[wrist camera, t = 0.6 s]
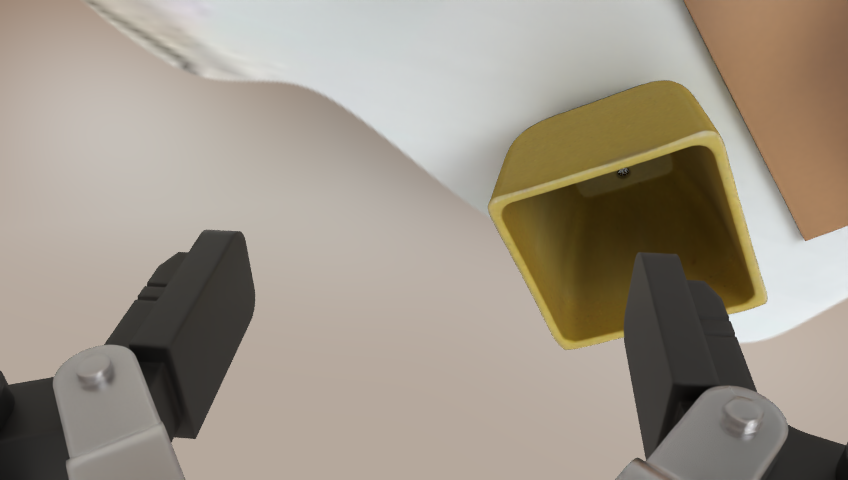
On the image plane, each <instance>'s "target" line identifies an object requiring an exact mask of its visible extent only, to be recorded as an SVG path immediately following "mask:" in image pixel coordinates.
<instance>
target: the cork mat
mask: <svg viewBox="0 0 848 480" xmlns="http://www.w3.org/2000/svg"><path fill="white" fill-rule="evenodd" d="M683 1H684V3H685V5H686V7H687V9H688V11H689V13H690V15H691V17H692V19H693V21H694V23H695V25H696V27H697V28H698V30H699V32H700V34H701V36H702V38H703V40H704V42H705V44H706V46H707V48H708V50H709V52H710V54H711V56H712V58H713V60H714V62H715V64H716V66H717V68H718V70H719V72H720V74H721V76H722V78H723V80H724V82H725V84H726V86H727V88H728V90H729V92H730V94H731V96H732V98H733V100H734V102H735V104H736V106H737V108H738V109H739V111H740V113H741V115H742V117H743V119H744V121H745V123H746V125H747V127H748V129H749V131H750V133H751V135H752V137H753V139H754V141H755V143H756V145H757V147H758V149H759V151H760V153H761V155H762V157H763V159H764V161H765V163H766V165H767V167H768V169H769V171H770V173H771V175H772V177H773V179H774V181H775V183H776V185H777V187H778V188H779V190H780V192H781V194H782V196H783V198H784V200H785V202H786V204H787V206H788V208H789V210H790V212H791V214H792V216H793V218H794V220H795V222H796V224H797V226H798V228H799V230H800V232H801V234H802V236H803V238H804V240H805V241H807V240H810V239H813V238H815V237H818V236H821V235H823V234H826V233H829V232H832V231H834V230H837V229H840V228H842V227H845V226H848V0H683Z"/></svg>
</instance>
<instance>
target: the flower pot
mask: <svg viewBox="0 0 848 480" xmlns="http://www.w3.org/2000/svg"><path fill="white" fill-rule="evenodd" d="M623 168H628V169H629V172H628V174H627V175H625V176H621V175H619V174H618V173H617V171H618V170H620V169H623ZM488 211H489V214H490V217H491V219H492V221H493V223H494V225H495V227H496V229H497V230H498V232H499V234H500V236H501V238H502V240H503V241H504V243H505V245H506V247H507V249H508V250H509V252H510V254H511V256H512V258H513V260H514V262H515V264H516V265H517V267H518V269H519V271H520V273H521V274H522V276H523V279H524V281H525V282H526V284H527V286H528V288H529V290H530V292H531V294H532V296H533V298H534V300H535V302H536V304H537V306H538V308H539V310H540V312H541V314H542V316H543V317H544V320H545V322H546V324H547V326H548V328H549V330H550V332H551V334H552V336H553V337H554V339H555V341H556V342H557V343H558V344H559V345H560V346H561V347H562V348H563V349H565V350H571V349H578V348H582V347H587V346H591V345H595V344H600V343H604V342H607V341H610V340H615V339H619V338H623V337H624V316H625V309H626V304H627V299H628V294H629V288H630V283H631V278H632V273H633V267H634V262H635V258H636V255H637V253H638V252H643V253H664V254H677V255H678V256H679V258H680V261H681V264H682V267H683V271H684V274H685V277H686V280H697V281H705V282H706V283H707V284H708V285H709V286H710V287H711V288H712V289H713V290H714V291H715V292H716V293H717V294H718V295H719V296H720V297H721V298H722V300H723V303H724V306H725V308H726V311H727V314H733V313H738V312H742V311H745V310H749V309H752V308H755V307H758V306H761V305H763V304H765V303H766V302H767V293H766V289H765V286H764V283H763V280H762V277H761V273H760V270H759V266H758V263H757V260H756V256H755V253H754V250H753V246H752V243H751V239H750V236H749V232H748V228H747V225H746V221H745V218H744V214H743V211H742V207H741V203H740V200H739V197H738V193H737V190H736V186H735V182H734V178H733V174H732V171H731V168H730V164H729V160H728V156H727V152H726V149H725V146H724V142H723V140H722V138H721V136H720V134H719V133H718V131H717V130H716V128H715V127H714V125H713V124H712V122H711V121H710V119H709V118H708V116H707V115H706V113H705V112H704V110H703V109H702V107H701V106H700V105H699V103H698V102H697V100H696V99H695V97H694V96H693V95H692V94H691V92H690V91H689V90H688V89H686V88H685V87H684V86H682V85H680V84H678V83H676V82H673V81H655V82H650V83H646V84H643V85H639V86H637V87H634V88H631V89H628V90H626V91H623V92H620V93H617V94H615V95H612V96H609V97H606V98H604V99H601V100H598V101H595V102H593V103H590V104H587V105H584V106H581V107H578V108H576V109H573V110H570V111H567V112H564V113H561V114H558V115H555V116H553V117H550V118H548V119H545V120H543V121H541V122H539V123H537V124H535V125H533V126H531V127H530V128H528V129H527V130H525V131H524V132H523V133H522V134H521V135H519V136H518V137H517V138H516V140H515V141H514V142H513V143H512V145H511V146H510V148H509V150H508V152H507V154H506V157H505V159H504V162H503V165H502V168H501V171H500V173H499V176H498V179H497V182H496V185H495V188H494V191H493V194H492V197H491V199H490V202H489V204H488Z"/></svg>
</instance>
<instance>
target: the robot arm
mask: <svg viewBox="0 0 848 480" xmlns="http://www.w3.org/2000/svg"><path fill="white" fill-rule="evenodd" d="M254 307H255V289H254V283H253V279H252V273H251V268H250V262H249V257H248V252H247V246H246V241H245V237H244V235H243V234H242V232H240V231H239V232H238V231H220V230H204V231H203V232H202V233H201V234H200V236H199V237H198V239H197V240H196V242H195V243H194V245H193V246H192V248H191V250H190V251H189V252H188V253H185V252H178V253H177V254H175V255H174V256H172V257H171V258H170V259H168V260H167V261H166V262H164V263H163V264H161V265H160V266H159V267H158V268H157V269H156V271H155V272H154V274H153V275H152V277H151V278H150V280H149V281H148V283H147V286H145V287H144V288H143V290H142V291H141V293H140V294H139V295H138V300H135V301H134V303H133V304H132V305H131V307H130V308H129V310H128V311H127V313H126V314H125V315H124V317H123V319H122V320H121V321H120V323H119V324H118V326H117V327H116V328H115V330H114V331H113V333H112V334H111V336H110V337H109V338H108V340H107V341H106V343H105V344H104V345H102V346H96V347H93V348H89V349H86V350H84V351H82V352H80V353H78V354H76V355H74V356H73V357H71V358H69V359H68V360H67V361H66V362H65V363H63V365H62V366H61V367H60V368H59V369H58V371H57V372H56V374H55V376H54V377H51V378H46V379H40V380H35V381H28V382H23V383H17V384H11V385H8V383H7V381H6V379H5V377H4V376H3V373H2V372H1V371H0V480H185V477H184V475H183V472H182V470H181V468H180V465H179V462H178V460H177V457H176V454H175V452H174V449H173V447H172V444H171V442H172V440H173V438H174V437H179V438H191V439H196V437H197V435H198V433H199V430H200V428H201V426H202V424H203V422H204V420H205V418H206V415H207V413H208V411H209V409H210V407H211V405H212V403H213V400H214V398H215V396H216V394H217V392H218V390H219V388H220V385H221V383H222V381H223V379H224V377H225V375H226V373H227V370H228V368H229V366H230V364H231V362H232V360H233V357H234V356H235V353H236V351H237V349H238V347H239V344H240V343H241V341H242V338H243V336H244V334H245V332H246V330H247V328H248V326H249V323H250V321H251V319H252V316H253V312H254ZM624 343H625V348H626V354H627V359H628V365H629V370H630V375H631V381H632V386H633V392H634V397H635V403H636V408H637V413H638V419H639V424H640V430H641V435H642V440H643V445H644V451H645V457H646V461H643V460H641V459H640V458H635V459H634V460H633V461H631V462H630V463H629V464H628V465H627V466H626V467H625V468H624V470H623V471H622V472H621V473H620V474H619V476H618V477H617V478H616V479H615V480H848V443H847V445H843V444H839V443H836V442H833V441H830V440H827V439H823V438H820V437H817V436H814V435H810V434H808V433H805V432H802V431H800V430H797V429H795V428H793V427H791V426H790V425H788V423H787V421H786V418H785V417H784V415H783V413H782V412H781V411H780V409H779V408H778V407H777V406H776V405H775V404H774V403H773V402H771V401H770V400H769V399H767V398H766V397H764V396H762V395H761V394H759V393H757V390H756V388H755V385H754V383H753V380H752V377H751V374H750V372H749V369H748V367H747V364H746V361H745V359H744V356H743V353H742V351H741V348H740V345H739V343H738V340H737V337H735V332H734V330H733V327H732V324H731V322H730V321H729V316H728V314H727V311H726V308H725V306H724V303H723V300H722V298H721V297H720V296H719V295H718V294H717V293H716V292H715V291H714V290H713V289H712V288H711V287H710V286H709V285H708V284H707V283H706V282H705V281H697V280H686V277H685V274H684V271H683V267H682V264H681V261H680V258H679V256H678V255H677V254H664V253H643V252H638V253H637V255H636V258H635V262H634V267H633V273H632V278H631V283H630V288H629V294H628V299H627V304H626V309H625V316H624Z"/></svg>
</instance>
